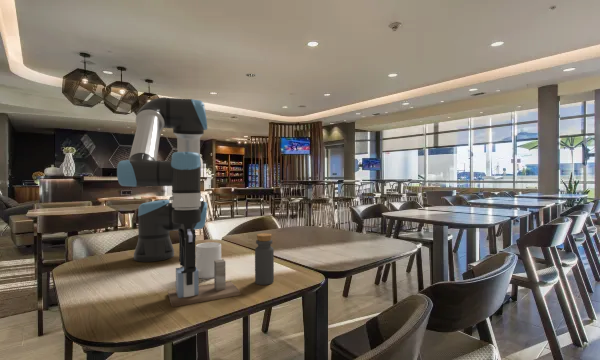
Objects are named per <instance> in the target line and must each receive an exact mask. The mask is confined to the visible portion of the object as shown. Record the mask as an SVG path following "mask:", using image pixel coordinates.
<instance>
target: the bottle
mask: <svg viewBox="0 0 600 360" xmlns="http://www.w3.org/2000/svg"><path fill="white" fill-rule="evenodd" d="M272 237H273V235H272V233H266V232H265V233H263V232H262V233H257V234H256V238H257V239H256V241H255V244H256V245H257V247H255V248H254V276H255V277H254V283H255V284H256V285H260V286H267V285H271V284H273V283H274V281H275V279H274V278H275V276H274V275H275V272H274V271H275V267H274V266H275V264H274V261H275V260H274V259H275V257H274V256H275V254H274V251H275V250H274V247H272V246H271V245H272V244H273V239H272Z"/></svg>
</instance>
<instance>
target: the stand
mask: <svg viewBox="0 0 600 360" xmlns="http://www.w3.org/2000/svg"><path fill="white" fill-rule="evenodd" d="M226 275H227V274H226V260H225V259H223V258H221V260H214V278H213V279H214V282H213V283H209V284H204V285H203V284H202V285H199V295H194V296H189V297H182V298H178V296H177V293H176V289H172V290H171V289H170V290H167V296H168V299H169V303H170V305H171V308H175V307H176V308H177V307H180V306H184V305H185V306H186V305H190V304H197V303H202V302H208V301H213V300H220V299H225V298H231V297H235V296H241V290H240V289H239V288H238V287H237V286H236V285H235V284H234V283H233V282H232V281H231V280H228V281H226Z"/></svg>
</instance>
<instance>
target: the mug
mask: <svg viewBox="0 0 600 360" xmlns="http://www.w3.org/2000/svg"><path fill="white" fill-rule="evenodd" d="M221 259H222V243H221V242H216V241H214V242H213V241H212V242H209V241H207V242H202V243H197V244H195V261H196V268H197V269H198V279H206V280H207V279H214V260H221Z"/></svg>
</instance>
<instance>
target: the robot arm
mask: <svg viewBox="0 0 600 360" xmlns="http://www.w3.org/2000/svg"><path fill="white" fill-rule="evenodd" d="M207 120H208V119H207V113H206V108H205V103H204V102H203V101H202V100H200V99H193V98H190V99H189V98H179V97H178V98H177V97H176V98H175V97H174V98H173V97H164V96H163V97H156V98H153V99H151V100H150V101H148V102H146V103H144V105H142V107H140V109H139V110H138V111H137V113H136V116H135V124H136V129H135V134H134V138H133V142H132V146H131V150H130V153H129V157H128V159H126V160H125V159H124V160H120V161H119V162H118V163H117V168H116V176H117V177H116V178H117V181H118V184H119V185H120V186H121V187H134V188H135V187H139V188H140V187H171V195H172V196H169V199H159V200H154V201H147V202H144V203H141V204H140V205H139V206H138V211H137V212H138V214H137V217H138V218H137V219H138V221H137V223H138V224H137V225H138V230H137V233H138V239H137V244H136V246H135V249H134V253H133V260H134V261H135V262H139V263H142V262H144V263H146V262H158V261H165V260H169V259H171V258H173V257H174V256H175V249H174V246H173V243H172V240H171V238H170V232H172V231H173V232H175V231H178V243H179V245H178V246H179V249H178V250H179V252H178V253H179V259H178V260H179V261H178V262H179V265H180V267H179V268H182V267H184V271H181V273H182V274H183V297H189V296H194V271H196V258H195V252H196V239H197V235H196V230H202V229H203V228H204V227H205V226H206V225H205V224H206V222H207V221H206V220H207V215H208V214H207V213H208V212H207V211H208V202H206V201H205V199H204V197H203V196H202V192H201V180H202V179H201V172H202V171H201V169H202V168H201V166H202V163H201V138H202V137H203V136H204V133H205V131H208V121H207ZM163 129H172V133H173V135H174V136H175V137H176V139H177V140H176V141H177V142H176V143H177V151H175V152H173V153H172V155H171V160H158V154H159V153H158V152H159V146H160V140H161V139H160V138H161V132H162V130H163ZM170 201H171V202H170Z"/></svg>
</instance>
